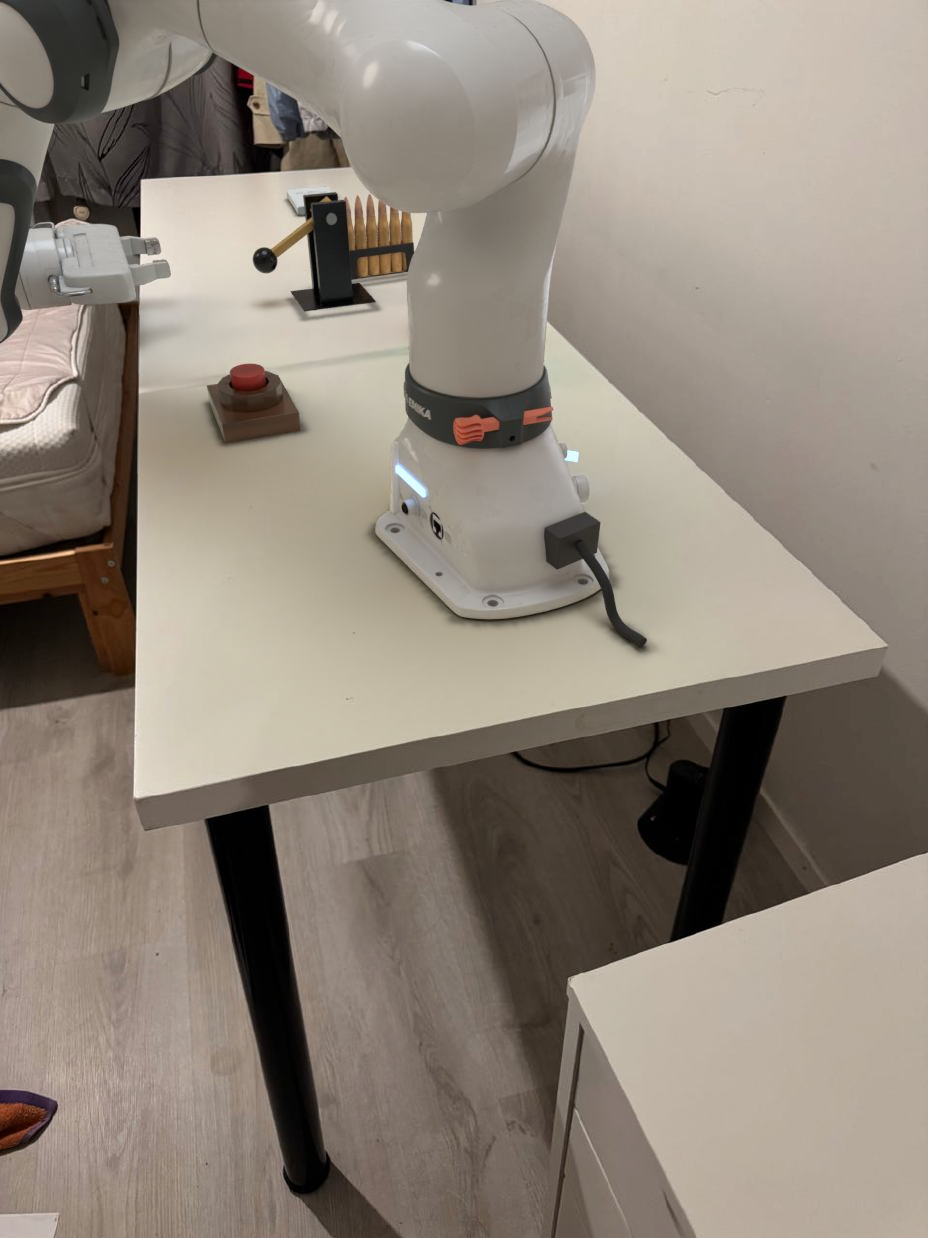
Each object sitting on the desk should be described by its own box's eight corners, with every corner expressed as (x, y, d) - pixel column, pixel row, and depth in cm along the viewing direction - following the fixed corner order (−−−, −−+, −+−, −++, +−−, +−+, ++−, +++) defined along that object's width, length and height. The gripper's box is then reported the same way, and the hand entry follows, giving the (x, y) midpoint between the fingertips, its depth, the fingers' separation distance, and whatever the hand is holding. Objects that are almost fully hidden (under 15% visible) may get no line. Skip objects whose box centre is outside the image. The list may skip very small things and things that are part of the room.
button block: (301, 430, 95) (296, 395, 93) (225, 443, 93) (219, 408, 91) (280, 392, 103) (276, 359, 100) (209, 403, 100) (203, 369, 98)
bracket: (305, 319, 120) (293, 209, 111) (291, 299, 126) (279, 193, 117) (376, 309, 123) (370, 202, 114) (360, 290, 129) (353, 187, 120)
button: (269, 390, 95) (267, 374, 94) (235, 395, 94) (233, 379, 93) (262, 376, 97) (260, 361, 96) (229, 381, 96) (226, 366, 95)
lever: (265, 281, 117) (250, 261, 115) (260, 273, 120) (245, 254, 118) (344, 220, 117) (330, 198, 114) (337, 213, 119) (323, 192, 117)
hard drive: (298, 216, 158) (287, 197, 167) (343, 212, 160) (330, 194, 169) (297, 206, 157) (285, 188, 166) (343, 202, 158) (329, 185, 168)
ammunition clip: (347, 287, 130) (341, 198, 122) (343, 283, 131) (336, 195, 123) (416, 277, 133) (414, 190, 125) (411, 274, 134) (409, 187, 127)
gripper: (42, 268, 99) (170, 255, 103) (37, 218, 114) (150, 208, 118) (58, 324, 103) (181, 309, 107) (51, 269, 118) (159, 257, 122)
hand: (164, 256), depth 113 cm, fingers open, 8 cm apart
